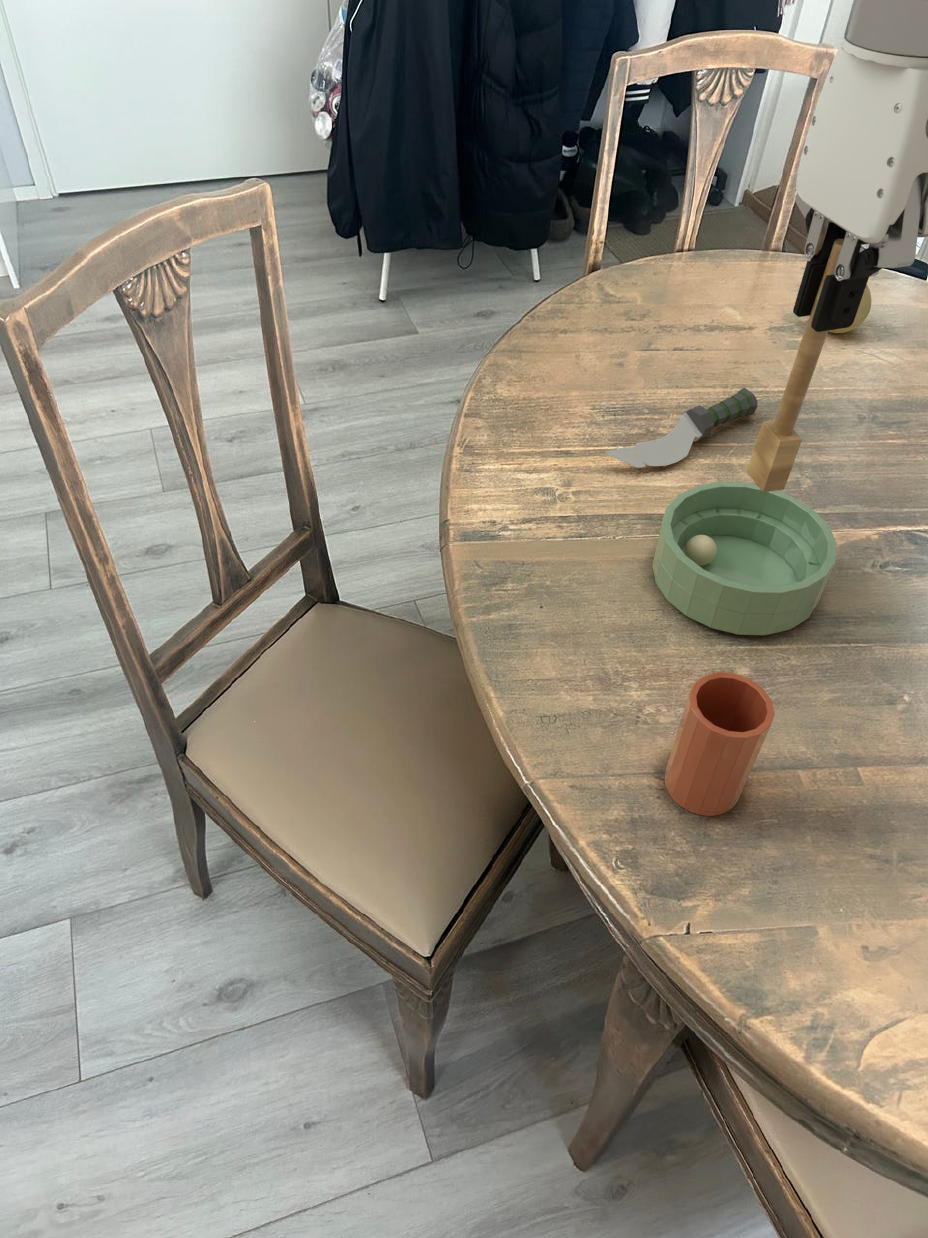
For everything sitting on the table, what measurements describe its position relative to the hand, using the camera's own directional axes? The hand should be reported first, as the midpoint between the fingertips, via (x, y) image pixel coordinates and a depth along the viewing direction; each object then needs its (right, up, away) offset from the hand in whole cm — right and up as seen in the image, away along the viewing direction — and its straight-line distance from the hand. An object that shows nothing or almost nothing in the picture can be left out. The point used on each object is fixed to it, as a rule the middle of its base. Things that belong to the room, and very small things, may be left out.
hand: (822, 318), depth 64 cm
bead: (-3, -15, +20) cm, 26 cm away
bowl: (0, -18, +20) cm, 27 cm away
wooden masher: (-1, -10, +10) cm, 14 cm away
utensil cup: (-8, -35, +4) cm, 36 cm away
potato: (+24, +17, +56) cm, 63 cm away
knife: (-1, -2, +36) cm, 36 cm away
